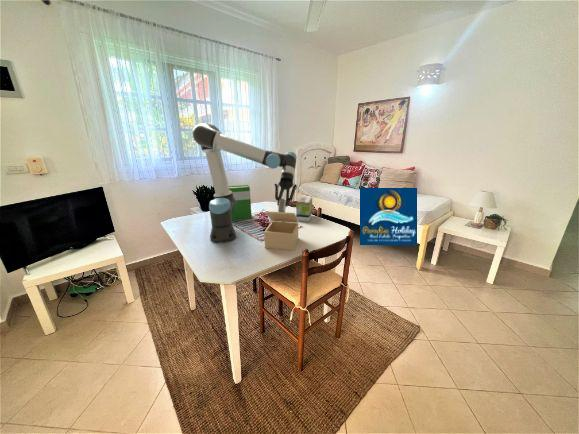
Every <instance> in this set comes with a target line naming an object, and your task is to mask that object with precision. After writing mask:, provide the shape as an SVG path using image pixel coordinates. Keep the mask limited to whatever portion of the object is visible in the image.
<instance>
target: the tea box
mask: <svg viewBox="0 0 579 434" xmlns="http://www.w3.org/2000/svg"><path fill="white" fill-rule="evenodd" d="M312 210H313V197H309V196H299V197H298V199H297V200H296V213H295V215H296V217H297V219H298V222H305V223H307V222H308V223H309V222H310V220H311V218H312V214H313V213H312V212H313V211H312Z"/></svg>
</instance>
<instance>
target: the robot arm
mask: <svg viewBox="0 0 579 434" xmlns="http://www.w3.org/2000/svg"><path fill="white" fill-rule="evenodd" d="M192 138H193V140H194V141H195V143H196V144H197V145H199V146H200V147H201V151H202V152H203V153H205V156H206V160H207V165H208V168H209V173H210V177H211V181H212V184H213V188H214V192H215V193H214V194H213V198H214V199H211V200H210V201H209V203H208V209H209V215H210V221H211V222H210V223H211V230H210V235H209V238H210V241H211V242H212V243H216V244H224V243H229V242H232V241H234V240H235V239H236V238H237V232H236V230H235V227H234V225H233V221H232V218H231V214H232V212H233V211H234V209H235V207H236V200H235V198H234V197H233V193H232V191H230V190H229V186H230V185H229V183H228V179H227V175H226V170H225V167H224V166H225V165H224V161H223V157H222V153H221V151H224V152H226V153H229V154H233V155H236V156H237V157H238V156H239V157H241V158H244V159H247V160H249V161H252V162H255V163H258V164H261V165H264V166H266V167H268V169H269V168H270V169H273V170H274V169H277V168H278V167H280V168H282V170H281V174H280V175H281V176H280V179H279V182H278V183H274V187H275V188H274V189H275V192H274V198H275V201H277V202H276V203H277V204H276V205H277V212H279V205H280V199H283V196H284V195H283V194H284V192H286V193H285V199H284V206H283V212H286V208H287V207H288V206H289V202H292V201H293V199H294V195H295V193H296V190H297V189H298V185H297V183H294V177H295V173H296V172H295V171H296V166H297V165H296V164H297V154H296V153H295V152H293V151H287V152H285V153H281V152H280V153H278V152H275V151H273V150H266V149H262V148H259V147H257V146H254V145H251V144H249V143H246V142H244V141H240V140H238V139H235V138H232V137H229V136H227V135H224V134H222V133H221V130H220V129H219V128H218V127H217V126H216V125H213V124H209V123H199V124H197V125H195V126H194V127H193V129H192ZM279 187H280V191H279ZM291 188H292V189H291ZM290 189H291V192H290Z"/></svg>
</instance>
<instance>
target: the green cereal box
mask: <svg viewBox="0 0 579 434" xmlns="http://www.w3.org/2000/svg"><path fill="white" fill-rule="evenodd" d="M228 186H229V190H230V191H232V193H233V197H234V198H235V200H236V207H235V209H234V211H233V212H232V214H231V218H232V222H233V221H241V220H242V221H243V220H251V219H252V218H253V217H252V201H251V189H250V185H249V184H244V185H243V184H239V185H228Z"/></svg>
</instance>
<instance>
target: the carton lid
mask: <svg viewBox="0 0 579 434" xmlns="http://www.w3.org/2000/svg"><path fill="white" fill-rule="evenodd" d="M284 200H285V198H282V199H280V205H279V206H278V207H279V211H267V210H266V211H265V212H264V213H265V214H266V216H267V217H268V218H269V220H271V222H272V221H274V222H289V223H298V224H299V221H298V219H297V217H296V213H295V212H286V211H285V212H283V206H284Z"/></svg>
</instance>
